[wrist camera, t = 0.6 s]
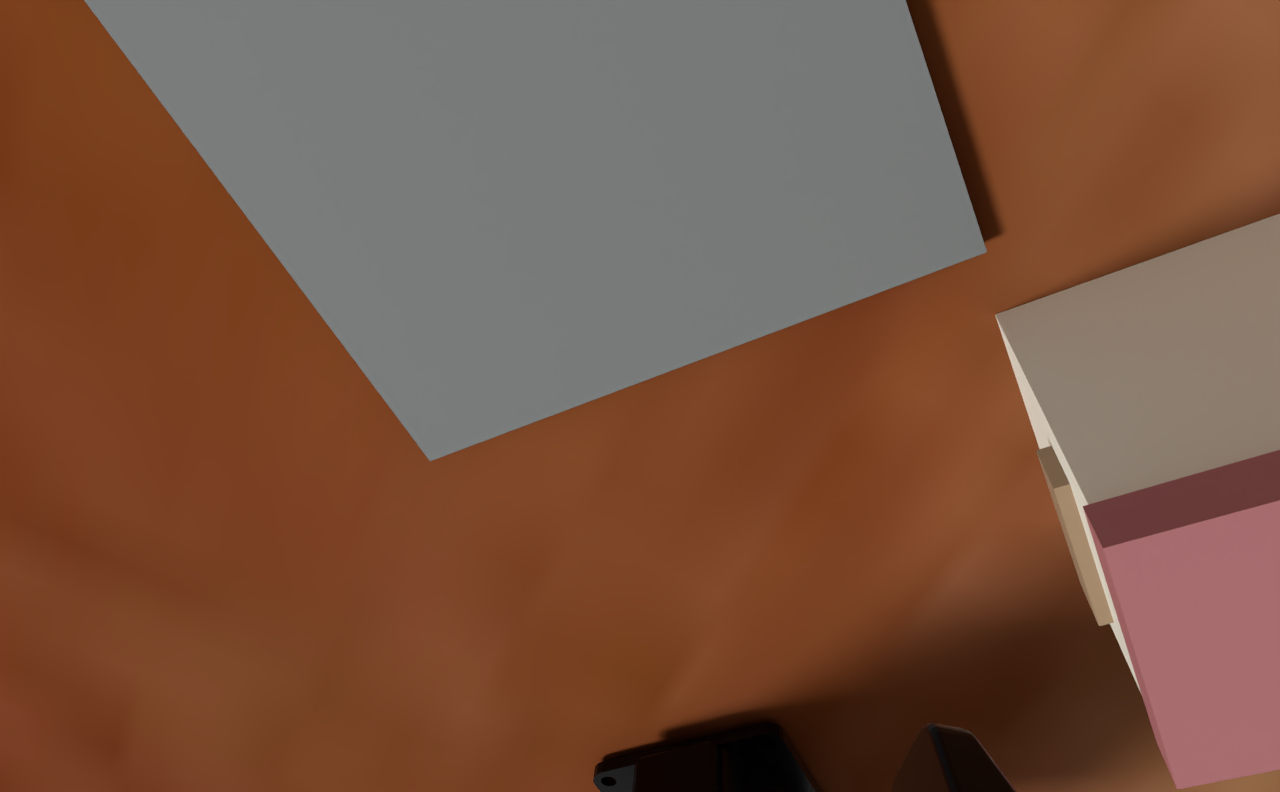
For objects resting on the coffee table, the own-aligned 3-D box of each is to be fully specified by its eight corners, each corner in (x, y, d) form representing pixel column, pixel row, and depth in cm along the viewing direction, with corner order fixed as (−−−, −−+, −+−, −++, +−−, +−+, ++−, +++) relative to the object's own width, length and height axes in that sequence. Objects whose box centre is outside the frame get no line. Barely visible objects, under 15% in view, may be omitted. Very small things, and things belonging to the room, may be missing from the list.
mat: (982, 243, 20) (986, 252, 20) (434, 451, 24) (430, 460, 24) (713, -588, 13) (712, -596, 13) (23, -101, 18) (10, -99, 17)
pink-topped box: (1349, 437, 22) (1599, 707, 16) (1050, 522, 24) (1166, 791, 18) (1320, 193, 19) (1617, 408, 13) (979, 314, 21) (1089, 551, 15)
